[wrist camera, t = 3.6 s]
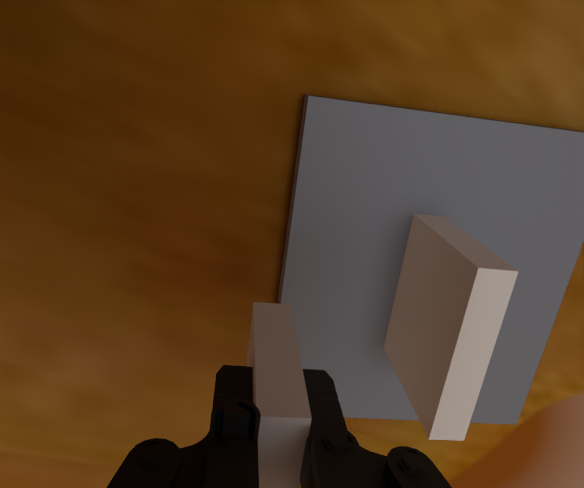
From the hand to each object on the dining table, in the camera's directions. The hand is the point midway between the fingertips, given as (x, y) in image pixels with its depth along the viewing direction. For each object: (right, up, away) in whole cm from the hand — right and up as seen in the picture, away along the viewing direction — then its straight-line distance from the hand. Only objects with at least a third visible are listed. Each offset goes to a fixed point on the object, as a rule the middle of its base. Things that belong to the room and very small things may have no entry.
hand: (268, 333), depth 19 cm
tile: (+8, +1, +6) cm, 10 cm away
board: (+8, +2, +8) cm, 12 cm away
